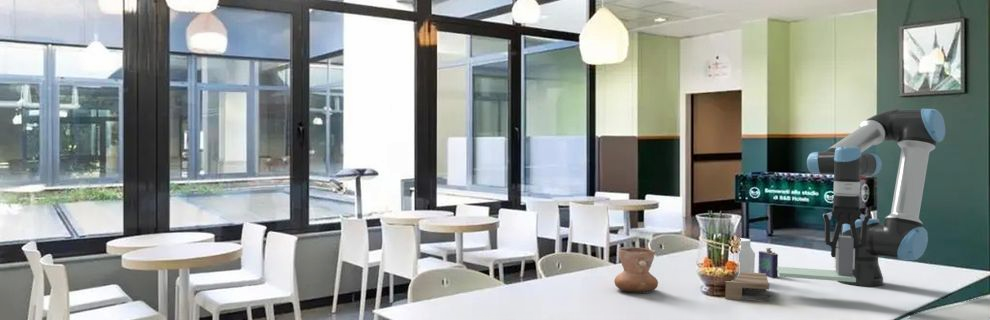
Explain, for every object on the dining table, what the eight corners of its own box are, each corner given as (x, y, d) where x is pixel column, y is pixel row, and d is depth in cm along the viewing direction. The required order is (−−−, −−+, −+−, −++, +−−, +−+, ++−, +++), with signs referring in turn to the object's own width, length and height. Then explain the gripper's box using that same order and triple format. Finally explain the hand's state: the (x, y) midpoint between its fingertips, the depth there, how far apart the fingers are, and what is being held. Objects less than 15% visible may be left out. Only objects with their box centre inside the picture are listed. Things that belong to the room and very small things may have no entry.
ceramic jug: (664, 296, 230) (665, 253, 230) (620, 296, 230) (621, 252, 230) (649, 286, 248) (650, 245, 248) (608, 285, 248) (609, 245, 248)
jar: (730, 283, 253) (731, 241, 253) (716, 278, 262) (717, 237, 262) (759, 282, 256) (760, 240, 255) (744, 277, 265) (745, 237, 265)
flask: (756, 274, 272) (757, 246, 271) (762, 273, 273) (763, 245, 272) (773, 278, 263) (774, 249, 263) (780, 278, 264) (780, 249, 264)
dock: (725, 286, 247) (726, 270, 247) (765, 289, 243) (766, 273, 243) (725, 298, 228) (725, 281, 228) (768, 301, 224) (768, 284, 224)
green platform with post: (777, 270, 238) (778, 231, 238) (849, 275, 231) (850, 234, 231) (779, 276, 226) (780, 235, 226) (855, 282, 219) (857, 239, 219)
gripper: (818, 194, 224) (816, 267, 225) (878, 196, 219) (876, 272, 219) (815, 193, 231) (813, 264, 232) (874, 195, 226) (871, 268, 227)
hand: (844, 267), depth 226 cm, fingers closed on green platform with post, 4 cm apart
